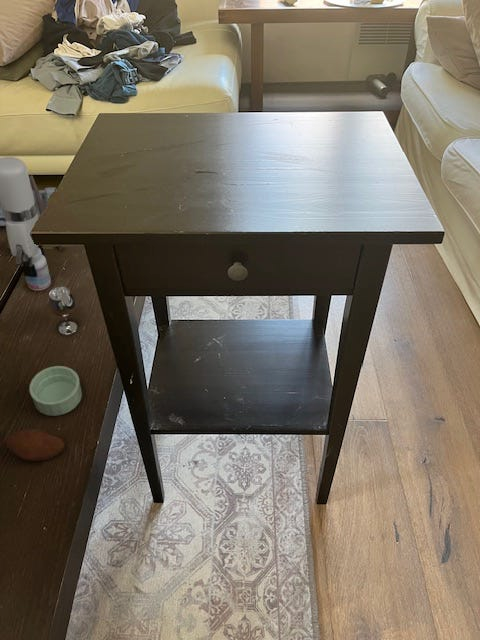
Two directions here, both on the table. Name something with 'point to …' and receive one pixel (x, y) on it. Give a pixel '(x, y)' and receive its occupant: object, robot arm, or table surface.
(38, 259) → the pill bottle
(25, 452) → the potato
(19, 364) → the table surface
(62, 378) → the dish
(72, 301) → the wineglass
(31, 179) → the natural artifact
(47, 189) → the toy train
